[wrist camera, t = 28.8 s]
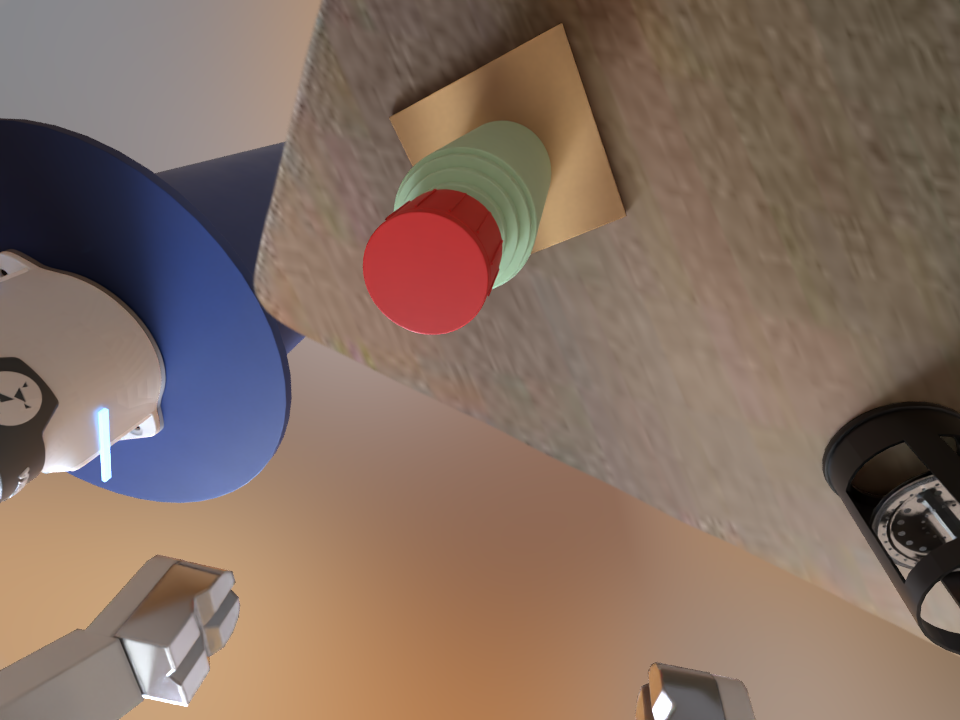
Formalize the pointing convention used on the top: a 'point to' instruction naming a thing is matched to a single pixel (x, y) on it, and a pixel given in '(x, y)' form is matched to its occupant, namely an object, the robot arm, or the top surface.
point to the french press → (907, 501)
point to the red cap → (433, 262)
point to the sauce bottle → (492, 183)
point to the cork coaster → (541, 108)
